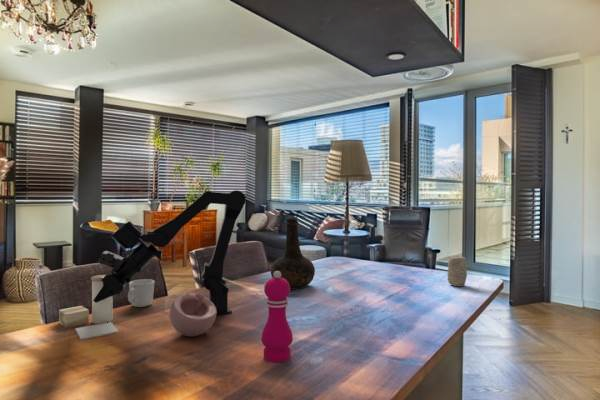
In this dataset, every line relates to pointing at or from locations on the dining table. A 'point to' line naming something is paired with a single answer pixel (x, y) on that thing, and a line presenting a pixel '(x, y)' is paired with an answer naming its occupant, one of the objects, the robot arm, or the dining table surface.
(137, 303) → the cup
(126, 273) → the robot arm
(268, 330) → the pepper mill
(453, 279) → the carving
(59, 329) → the dining table surface
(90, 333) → the mat
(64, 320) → the oak block
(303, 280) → the dark brown vase
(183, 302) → the mortar and pestle
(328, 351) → the dining table surface
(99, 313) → the tumbler
